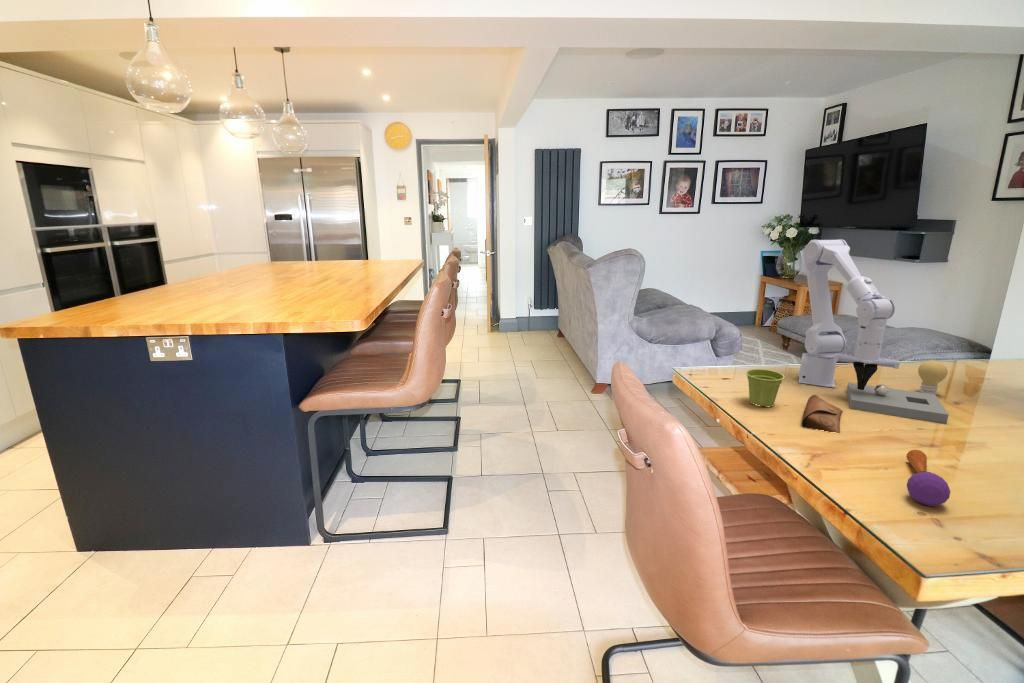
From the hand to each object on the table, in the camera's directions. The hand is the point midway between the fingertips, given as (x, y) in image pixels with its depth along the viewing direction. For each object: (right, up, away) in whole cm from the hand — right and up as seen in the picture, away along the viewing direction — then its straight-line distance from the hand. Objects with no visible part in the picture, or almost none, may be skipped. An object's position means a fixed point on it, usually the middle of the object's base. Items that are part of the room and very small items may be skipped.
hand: (860, 388), depth 135 cm
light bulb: (+23, -2, +5) cm, 24 cm away
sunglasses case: (-17, -7, -10) cm, 22 cm away
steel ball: (+4, 0, -2) cm, 5 cm away
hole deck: (+7, -4, -3) cm, 8 cm away
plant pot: (-28, -4, -1) cm, 29 cm away
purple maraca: (-18, -15, -41) cm, 47 cm away
